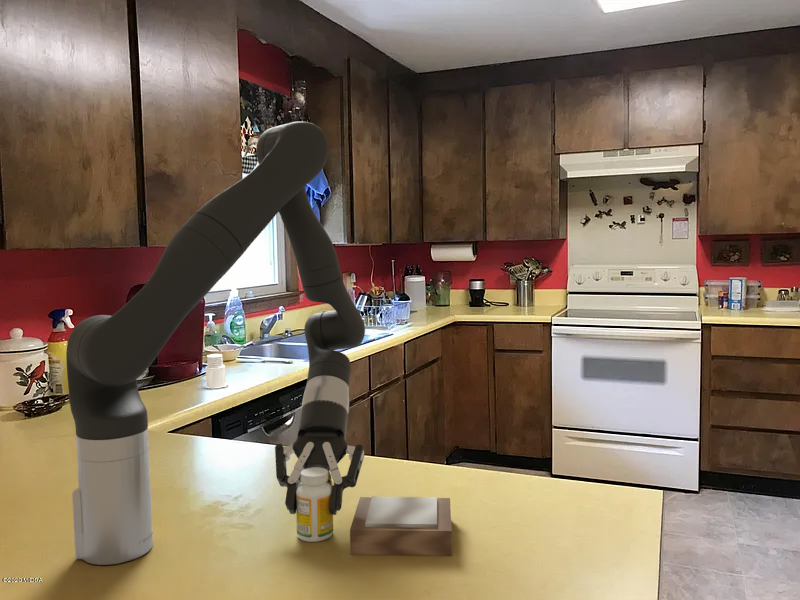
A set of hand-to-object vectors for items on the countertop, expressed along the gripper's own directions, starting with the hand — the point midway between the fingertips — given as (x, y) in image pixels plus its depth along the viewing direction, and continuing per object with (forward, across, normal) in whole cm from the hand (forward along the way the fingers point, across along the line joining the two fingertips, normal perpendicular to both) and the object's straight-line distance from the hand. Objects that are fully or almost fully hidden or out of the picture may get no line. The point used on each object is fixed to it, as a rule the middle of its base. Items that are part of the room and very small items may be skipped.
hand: (312, 511), depth 96 cm
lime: (-14, -3, +21) cm, 25 cm away
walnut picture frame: (+2, +13, +4) cm, 14 cm away
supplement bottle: (+2, 0, +4) cm, 5 cm away
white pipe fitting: (-72, -50, +78) cm, 117 cm away
